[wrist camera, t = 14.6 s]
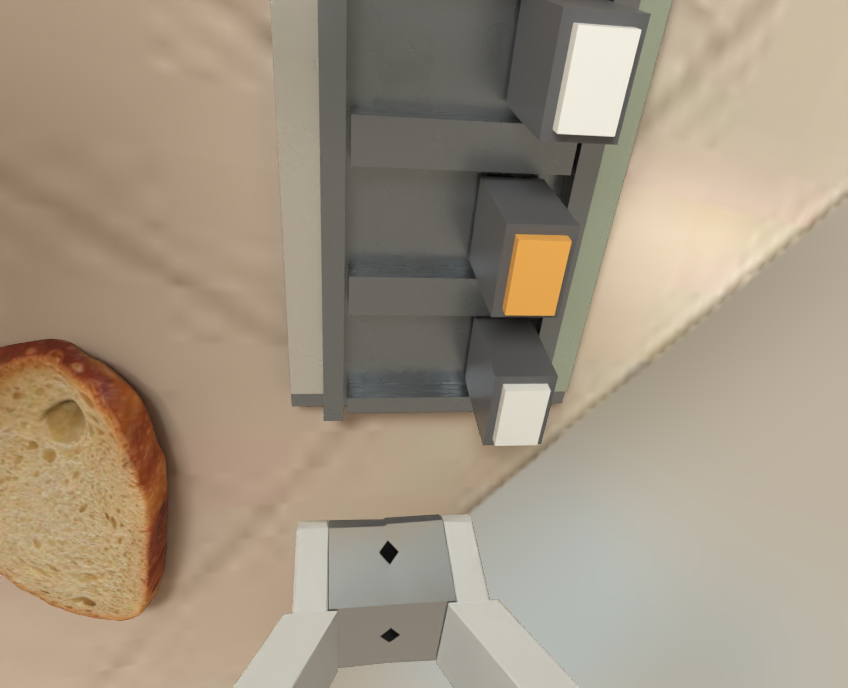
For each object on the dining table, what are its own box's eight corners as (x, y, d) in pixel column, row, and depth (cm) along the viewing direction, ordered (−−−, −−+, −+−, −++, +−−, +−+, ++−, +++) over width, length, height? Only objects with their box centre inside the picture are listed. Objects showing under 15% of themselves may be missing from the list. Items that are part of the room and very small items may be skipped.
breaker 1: (474, 315, 30) (498, 384, 26) (529, 315, 31) (561, 383, 26) (464, 379, 33) (485, 452, 28) (515, 378, 33) (543, 451, 29)
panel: (268, -102, 21) (261, -104, 19) (671, -62, 23) (701, -59, 21) (293, 392, 34) (290, 421, 32) (555, 389, 36) (568, 416, 34)
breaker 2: (522, -10, 23) (568, 8, 18) (595, -4, 23) (657, 15, 18) (505, 104, 25) (543, 145, 20) (572, 107, 25) (622, 149, 21)
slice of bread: (124, 611, 44) (108, 664, 41) (-153, 489, 35) (-201, 545, 32) (306, 485, 39) (304, 534, 35) (37, 303, 29) (2, 348, 26)
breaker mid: (480, 176, 26) (509, 229, 22) (543, 178, 27) (584, 231, 22) (469, 260, 29) (493, 324, 24) (527, 261, 29) (562, 324, 25)
